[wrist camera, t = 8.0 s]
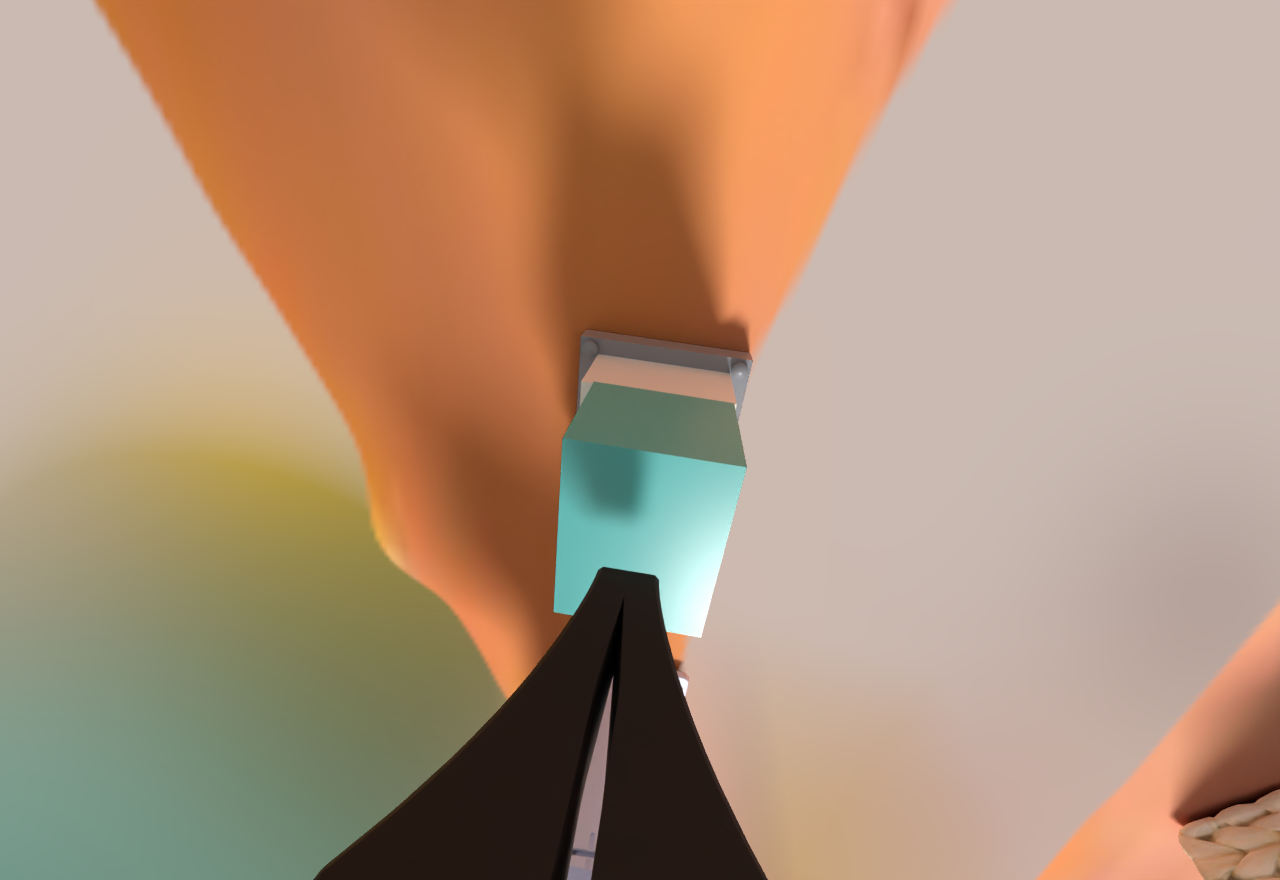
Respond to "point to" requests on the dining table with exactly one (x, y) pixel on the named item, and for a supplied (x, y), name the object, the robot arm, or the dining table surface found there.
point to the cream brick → (659, 378)
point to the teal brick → (648, 496)
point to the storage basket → (1237, 841)
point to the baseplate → (666, 357)
